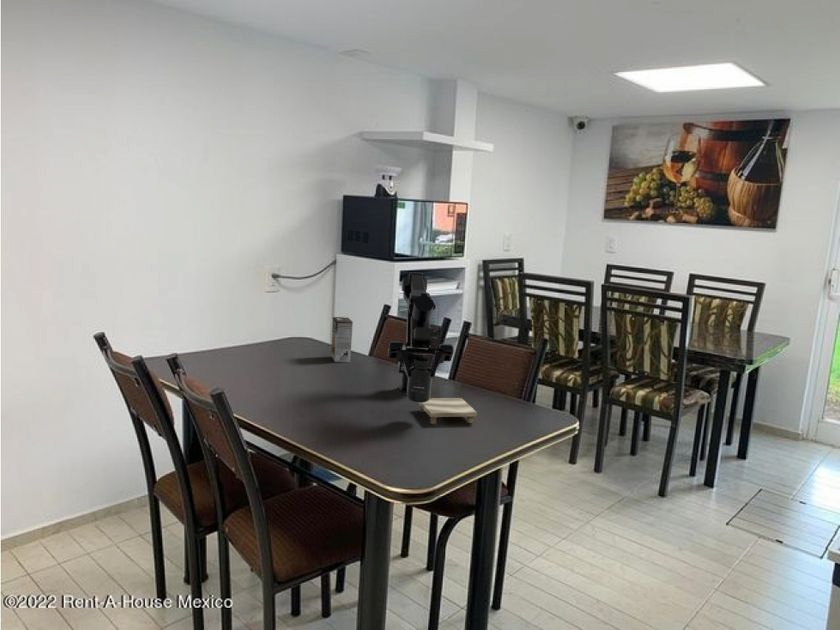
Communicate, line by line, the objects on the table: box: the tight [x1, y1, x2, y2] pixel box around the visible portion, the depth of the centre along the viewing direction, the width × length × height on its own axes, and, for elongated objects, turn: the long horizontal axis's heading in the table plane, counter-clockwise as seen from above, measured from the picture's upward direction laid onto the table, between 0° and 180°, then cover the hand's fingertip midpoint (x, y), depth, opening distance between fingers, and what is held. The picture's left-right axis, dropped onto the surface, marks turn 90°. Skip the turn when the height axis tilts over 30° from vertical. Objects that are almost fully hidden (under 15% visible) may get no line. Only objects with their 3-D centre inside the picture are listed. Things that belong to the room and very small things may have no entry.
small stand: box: [417, 397, 478, 425], centre depth 190 cm, size 14×14×4 cm
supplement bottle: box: [406, 357, 433, 403], centre depth 183 cm, size 7×7×12 cm
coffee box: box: [331, 316, 354, 363], centre depth 250 cm, size 9×6×16 cm
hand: (420, 376), depth 182 cm, fingers closed on supplement bottle, 7 cm apart
